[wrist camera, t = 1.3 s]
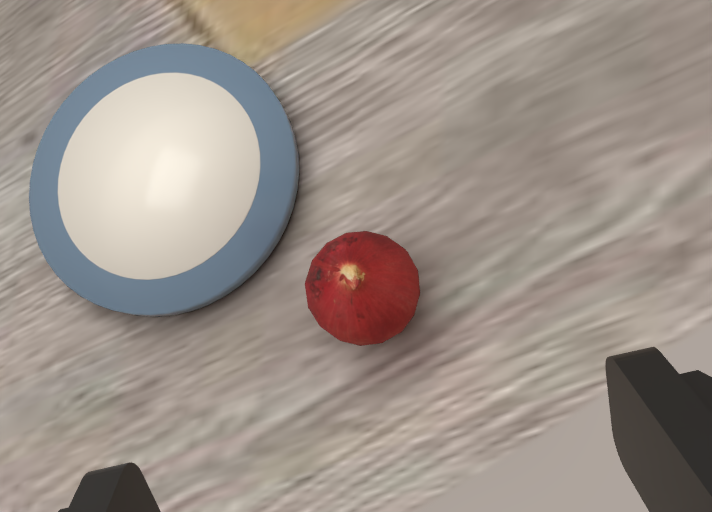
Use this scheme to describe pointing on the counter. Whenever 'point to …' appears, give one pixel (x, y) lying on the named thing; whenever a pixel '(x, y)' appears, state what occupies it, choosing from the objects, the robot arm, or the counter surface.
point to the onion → (362, 288)
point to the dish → (164, 180)
